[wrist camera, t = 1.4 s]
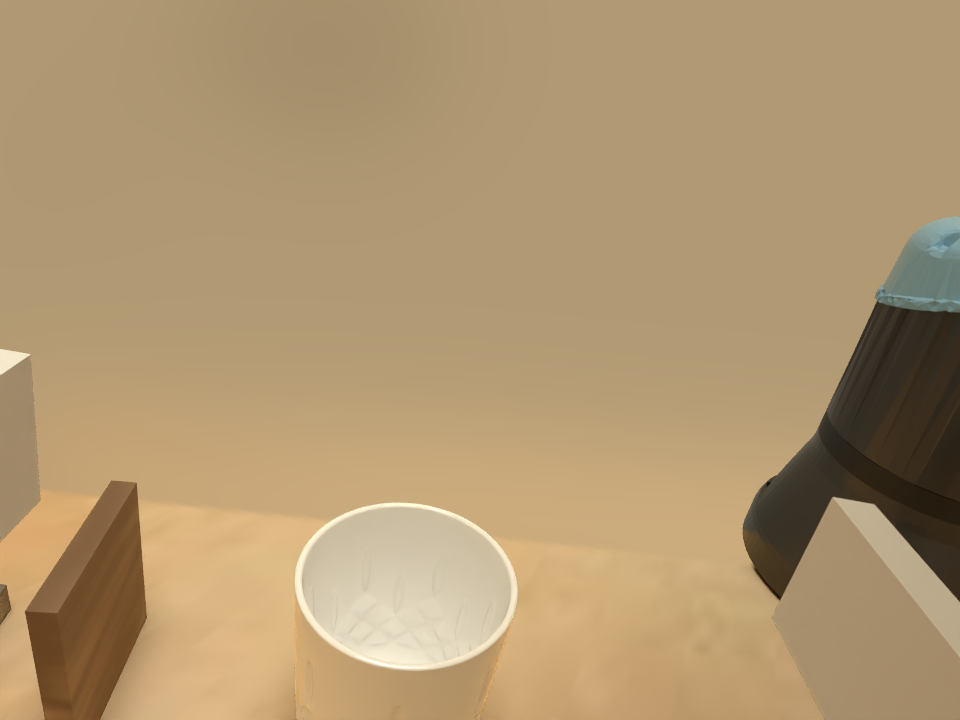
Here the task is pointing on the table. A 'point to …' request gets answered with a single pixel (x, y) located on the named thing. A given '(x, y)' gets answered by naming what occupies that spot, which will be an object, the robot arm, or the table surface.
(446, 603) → the white cup
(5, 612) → the frame
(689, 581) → the table surface
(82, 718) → the door edge slab
